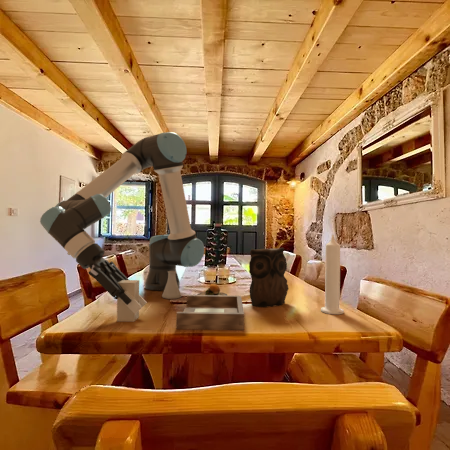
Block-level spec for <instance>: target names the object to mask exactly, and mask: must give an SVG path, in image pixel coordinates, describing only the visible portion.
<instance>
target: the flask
mask: <svg viewBox="0 0 450 450" xmlns="http://www.w3.org/2000/svg"><path fill="white" fill-rule="evenodd" d="M176 272H177V270H176V271H168V281H167V284H166V287H165V289H164V290H163V292H162V295H161V297H162V298H163V299H166V300H174V299H179V298H182V296H183V295H182V294H181V291H180V287H179V288H178V285H177V282H176Z"/></svg>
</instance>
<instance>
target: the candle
mask: <svg viewBox="0 0 450 450" xmlns="http://www.w3.org/2000/svg"><path fill="white" fill-rule="evenodd" d="M324 266H325V267H324V268H325V271H324V272H325V274H324V275H325V276H324V279H325V281H324V284H325V285H324V289H325V291H324V306H322V307H321V308H320V311H321V312H322V313H325V314H327V315H342V314H344V313H345V310H344V308H341V307H340V305H341V304H340V301H341V295H340V294H341V293H340V292H341V288H340V287H341V244H339V243H338V242H337V241H336V239H335V235H334V234H332V235H331V237H330V241H329V242H327V243H326V244H325V264H324Z"/></svg>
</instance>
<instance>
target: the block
mask: <svg viewBox="0 0 450 450" xmlns="http://www.w3.org/2000/svg"><path fill="white" fill-rule="evenodd" d="M118 283H119V284H120V286H121V287H122V288H123V289H124V291H127V292H128V293H129V294H130V295H131V296H132V297H133V298H134V299H135V300H136V301H137V302H138V303H139V295H140V280H139V279H129V280H122V281H120V282H118ZM139 317H140V310H139V311H138V312H137V313H136V314H134V313H133V312H132V311H131V310H130V309H129V308H128V307H127V306H126V305H125V304H124V303H123V301H122V300H121V299H120V298H118V299H117V300H116V322H136V321H137V320H138V319H139Z"/></svg>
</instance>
